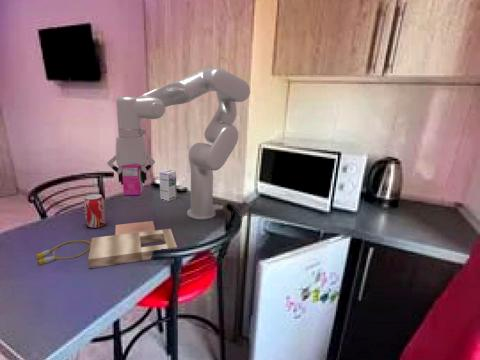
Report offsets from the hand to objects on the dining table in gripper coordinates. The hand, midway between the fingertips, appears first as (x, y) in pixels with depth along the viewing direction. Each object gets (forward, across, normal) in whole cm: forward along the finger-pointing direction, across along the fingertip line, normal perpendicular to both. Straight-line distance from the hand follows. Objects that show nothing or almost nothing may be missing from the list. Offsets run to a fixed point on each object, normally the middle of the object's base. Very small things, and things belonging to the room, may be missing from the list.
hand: (132, 182), depth 107 cm
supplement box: (+5, 0, 0) cm, 5 cm away
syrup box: (+19, -17, -32) cm, 41 cm away
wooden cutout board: (+19, +1, +15) cm, 24 cm away
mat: (+19, 0, 0) cm, 19 cm away
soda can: (+19, +14, -9) cm, 26 cm away
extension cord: (+20, +22, +10) cm, 31 cm away
